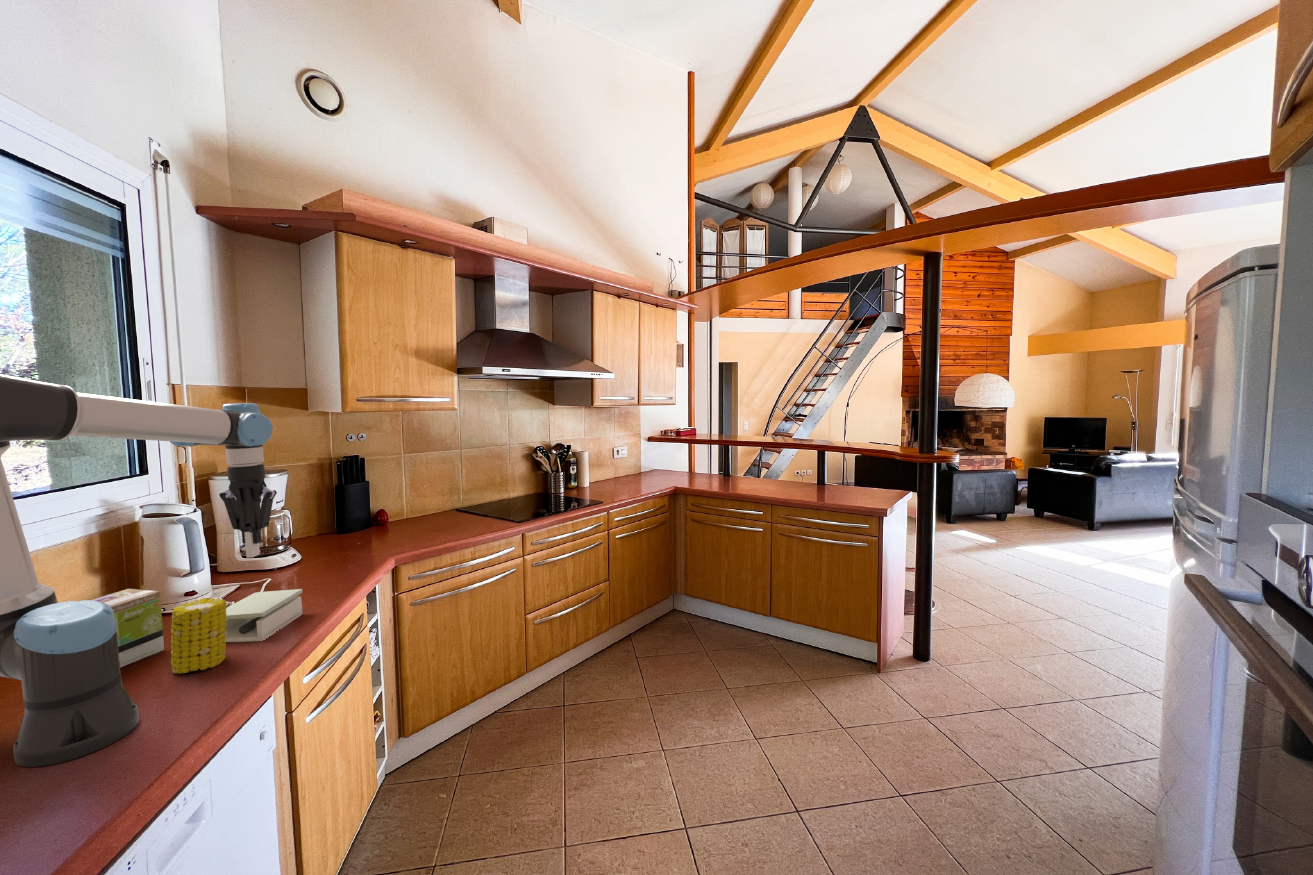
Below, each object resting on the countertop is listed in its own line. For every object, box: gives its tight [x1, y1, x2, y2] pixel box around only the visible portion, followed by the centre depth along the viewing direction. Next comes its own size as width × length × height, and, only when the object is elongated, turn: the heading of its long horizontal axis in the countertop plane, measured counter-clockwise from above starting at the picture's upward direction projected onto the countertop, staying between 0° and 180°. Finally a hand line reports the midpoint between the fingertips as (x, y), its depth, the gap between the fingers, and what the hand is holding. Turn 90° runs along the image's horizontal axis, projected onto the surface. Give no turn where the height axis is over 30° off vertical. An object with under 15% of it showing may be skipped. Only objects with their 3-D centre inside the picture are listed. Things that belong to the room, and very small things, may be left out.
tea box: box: [92, 588, 165, 669], centre depth 123 cm, size 15×10×15 cm
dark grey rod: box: [239, 609, 276, 634], centre depth 142 cm, size 13×2×2 cm, turn 2°
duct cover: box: [226, 588, 303, 620], centre depth 141 cm, size 16×12×1 cm
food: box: [170, 597, 227, 675], centre depth 122 cm, size 15×12×10 cm
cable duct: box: [225, 595, 303, 643], centre depth 141 cm, size 16×12×5 cm
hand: (253, 555), depth 140 cm, fingers closed
